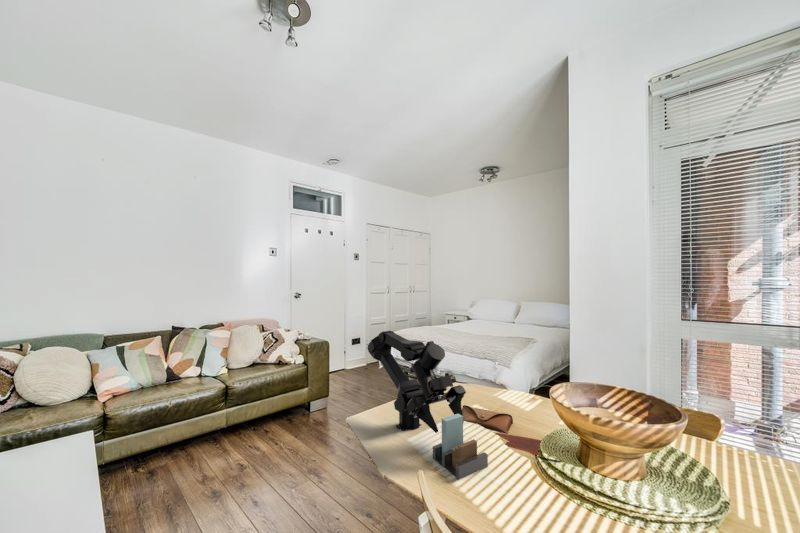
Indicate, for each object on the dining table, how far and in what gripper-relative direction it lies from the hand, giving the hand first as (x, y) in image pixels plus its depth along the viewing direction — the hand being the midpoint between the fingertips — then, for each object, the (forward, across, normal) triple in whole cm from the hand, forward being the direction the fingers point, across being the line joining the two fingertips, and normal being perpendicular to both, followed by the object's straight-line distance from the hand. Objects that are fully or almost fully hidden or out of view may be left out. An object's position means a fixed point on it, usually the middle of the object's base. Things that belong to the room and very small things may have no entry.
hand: (450, 427), depth 90 cm
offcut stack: (+10, 0, +1) cm, 10 cm away
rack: (+9, 0, +3) cm, 9 cm away
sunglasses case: (-1, +24, +14) cm, 28 cm away
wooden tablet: (+10, +22, +4) cm, 24 cm away
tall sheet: (+6, 0, +5) cm, 8 cm away
